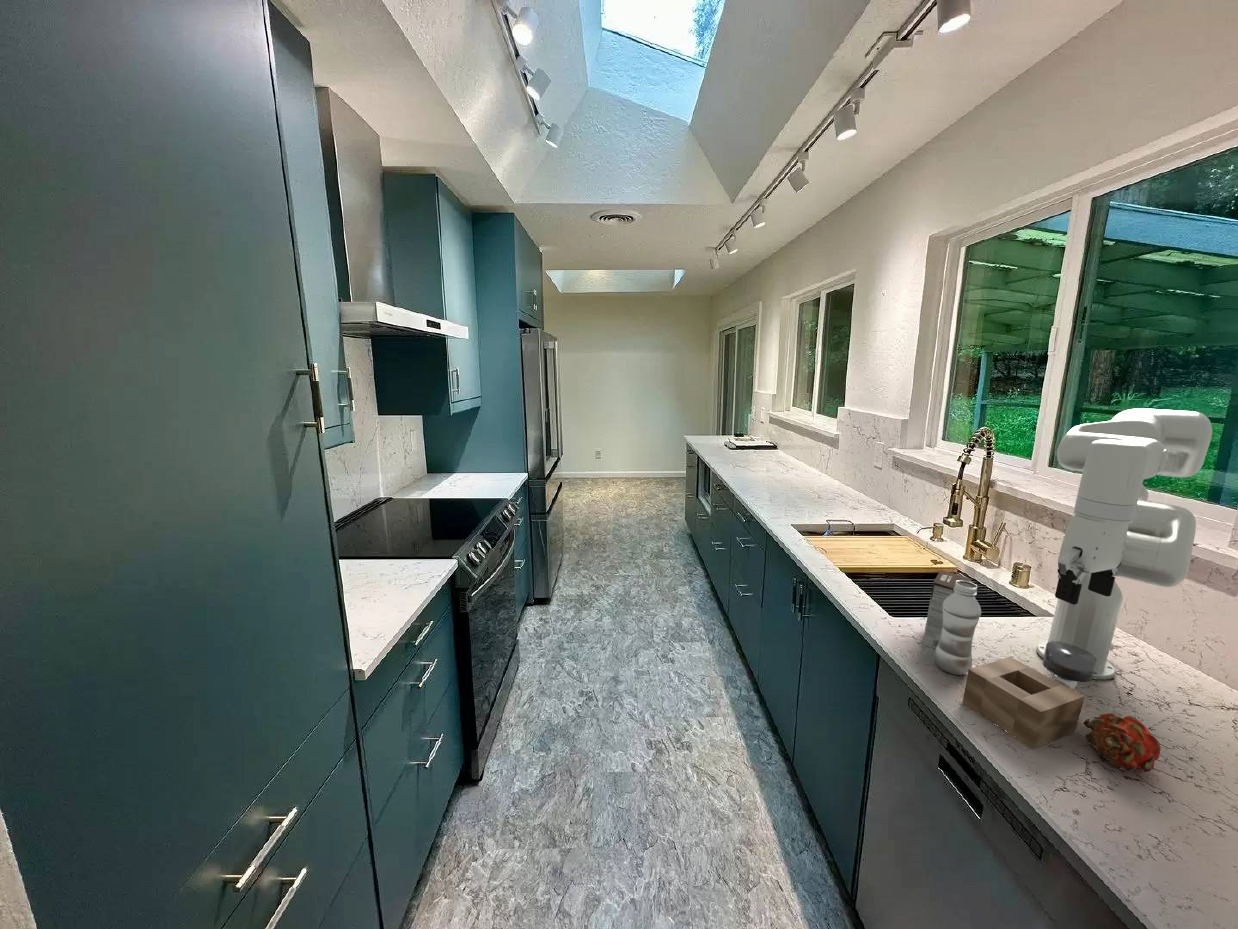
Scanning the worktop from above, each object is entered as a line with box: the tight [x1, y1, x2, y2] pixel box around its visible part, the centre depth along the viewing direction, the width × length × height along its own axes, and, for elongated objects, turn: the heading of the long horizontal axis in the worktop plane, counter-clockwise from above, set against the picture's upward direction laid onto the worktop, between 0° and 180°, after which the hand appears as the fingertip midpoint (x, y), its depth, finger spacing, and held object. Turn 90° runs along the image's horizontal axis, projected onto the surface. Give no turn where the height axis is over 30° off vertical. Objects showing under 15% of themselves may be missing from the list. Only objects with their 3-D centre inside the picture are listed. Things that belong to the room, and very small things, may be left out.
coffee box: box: [922, 570, 973, 650], centre depth 110 cm, size 9×6×16 cm
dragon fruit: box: [1082, 712, 1162, 773], centre depth 78 cm, size 8×8×12 cm
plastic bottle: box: [933, 580, 982, 676], centre depth 100 cm, size 6×7×20 cm
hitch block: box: [961, 656, 1085, 750], centre depth 88 cm, size 12×12×7 cm
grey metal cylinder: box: [1042, 641, 1097, 691], centre depth 91 cm, size 7×7×11 cm
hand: (1082, 597), depth 88 cm, fingers open, 9 cm apart
